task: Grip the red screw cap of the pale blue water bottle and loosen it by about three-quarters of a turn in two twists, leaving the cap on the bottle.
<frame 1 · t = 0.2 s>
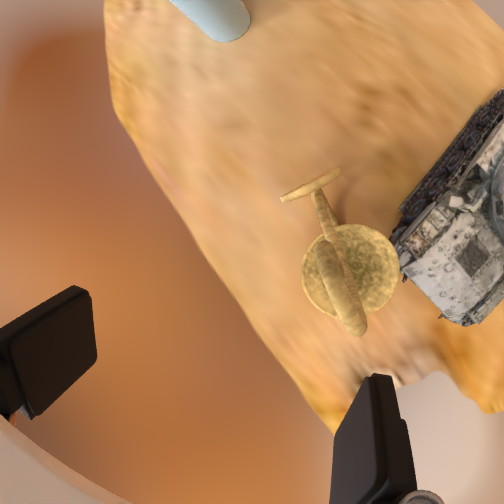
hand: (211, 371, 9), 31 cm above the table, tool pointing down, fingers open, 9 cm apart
tank: (479, 197, 32), on the table
wall sconce: (336, 228, 38), on the table
bottle: (227, 22, 33), on the table
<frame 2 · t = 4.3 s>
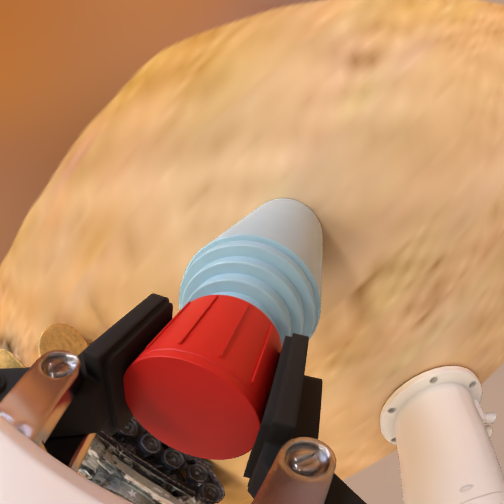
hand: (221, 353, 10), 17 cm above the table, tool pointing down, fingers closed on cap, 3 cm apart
tank: (143, 445, 40), on the table
cap: (190, 409, 7), point 20 cm above the table, screwed on, not yet turned, touching gripper
wall sconce: (76, 339, 36), on the table
bottle: (284, 236, 26), on the table
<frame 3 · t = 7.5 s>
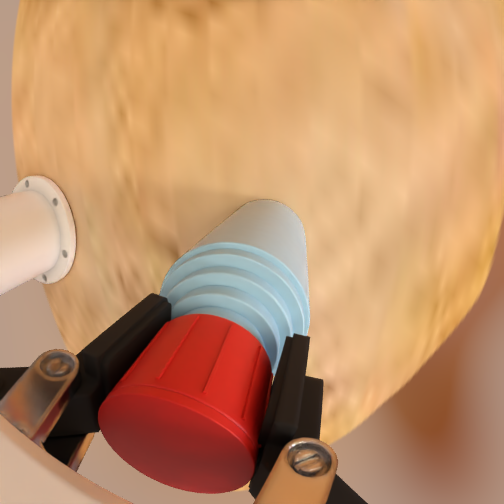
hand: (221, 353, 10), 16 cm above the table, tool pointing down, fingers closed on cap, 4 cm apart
cap: (174, 445, 6), point 20 cm above the table, turned 135° so far, risen 0.1 cm, still on its thread, touching gripper
bottle: (265, 239, 25), on the table, touching gripper
when the fingers open (16 cm above the table, at t = 15.8 s): cap stays where it is, point 20 cm above the table.
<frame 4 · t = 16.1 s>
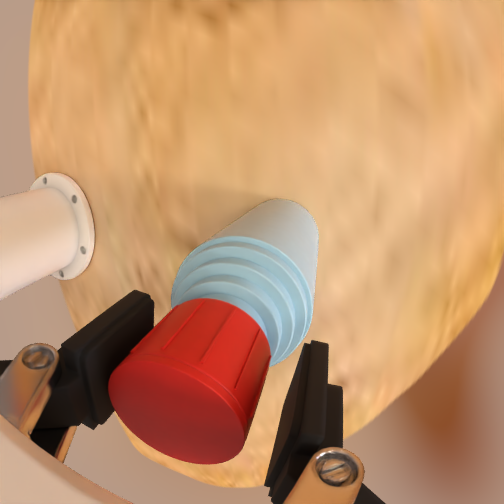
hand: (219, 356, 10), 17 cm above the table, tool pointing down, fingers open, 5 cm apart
cap: (175, 413, 7), point 20 cm above the table, turned 134° so far, risen 0.1 cm, still on its thread
bottle: (279, 237, 26), on the table
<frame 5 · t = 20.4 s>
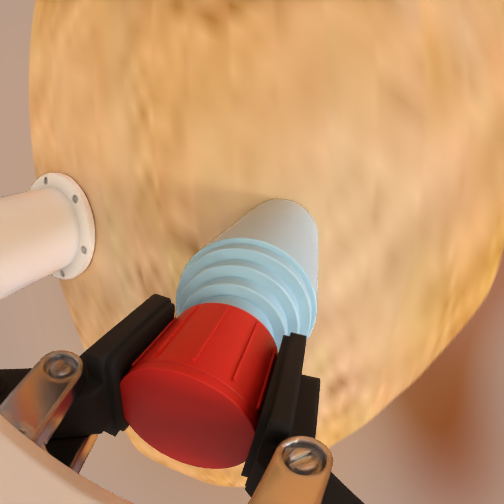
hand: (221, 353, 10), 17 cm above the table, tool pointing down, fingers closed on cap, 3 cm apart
cap: (186, 419, 7), point 20 cm above the table, turned 269° so far, risen 0.3 cm, still on its thread, touching gripper
bottle: (279, 237, 26), on the table
when the fingers open (17 cm above the table, at t = 20.4 s): cap stays where it is, point 20 cm above the table.
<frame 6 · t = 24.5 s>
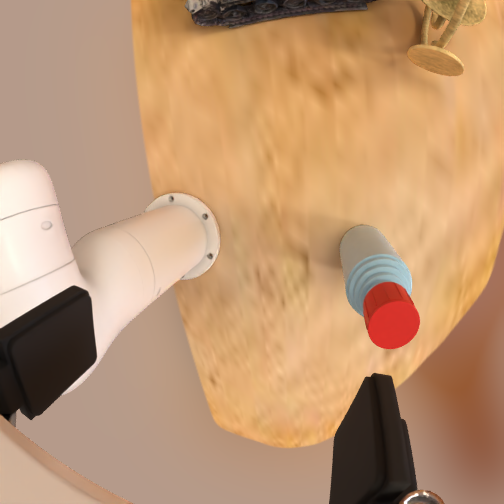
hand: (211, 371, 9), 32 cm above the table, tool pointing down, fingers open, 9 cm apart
cap: (393, 324, 20), point 20 cm above the table, turned 269° so far, risen 0.3 cm, still on its thread
wall sconce: (423, 35, 28), on the table
bottle: (363, 249, 39), on the table
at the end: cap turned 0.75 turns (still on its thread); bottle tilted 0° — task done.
